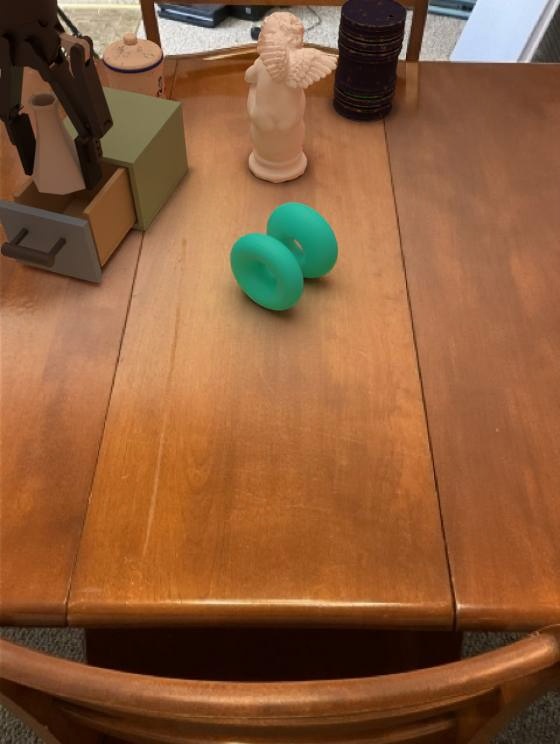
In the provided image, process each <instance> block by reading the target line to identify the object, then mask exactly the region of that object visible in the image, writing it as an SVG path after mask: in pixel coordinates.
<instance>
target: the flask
mask: <svg viewBox="0 0 560 744" xmlns="http://www.w3.org/2000/svg"><path fill="white" fill-rule="evenodd" d="M27 103H28V105H29V106H30V108H31V110H32V111H33V114H34V118H35V127H36V128H35V129H36V137H35V139H36V151H35V160H34V168H33V180H34V182H35V184H36V186H37V188H38V190H39V192H44V193H52V194H61V195H64V194H68V193H71V192H75V191H78V190H82V189H85V188H86V187H85V183H84V179H83V175H82V171H81V167H80V163H79V159H78V155H77V151H76V147H75V142H74V140H73V138H72V137H71V135H70V134H69V132H68V131H67V129H66V127H65V125H64V123H63V119H62V116H61V113H60V109H59V103H60V102H59V100H58V98H57V97H56V95H55V93H54V92H53V91H51V92H50V91H40V92H35V93H33V94H31V95H30V97H29V99H28V100H27Z"/></svg>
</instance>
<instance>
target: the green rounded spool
mask: <svg viewBox="0 0 560 744" xmlns="http://www.w3.org/2000/svg"><path fill="white" fill-rule="evenodd" d="M298 244H299V245H298ZM338 256H339V245H338V240H337V237H336V235H335V232H334V229H333V228H332V227H331V225H330V224H329V222H328V221H327V219H326V218H325V217H324V216H323V215H321V213H320V212H318V211H317V210H316V209H314V208H312V207H310V206H309V205H306V204H304V203H299V202H294V201H293V202H285V203H283V204H280V205H278V206H277V207H276V208H274V209H273V211H272V212H271V213H270V215H269V217H268V219H267V223H266V233H262V232H261V233H260V232H250V233H246V234H244V235H241V236H240V237H239V238H238V239H236V241H235V242H234V243H233V244H232V247H231V250H230V255H229V257H230V258H229V262H230V269H231V272H232V275H233V276H234V279H235V281H236V283H237V284H238V286H239V287H240V288H241V290H242V291H243V292H244V293H245V295H247V296H248V297H249V298H250V299H251V300H252V301H253V302H254V303H256V304H258V305H259V306H261V307H263V308H266V309H269V310H272V311H285V310H288V309H291V308H293V307H294V306H295V305H297V304H298V302H299V301H300V299H301V298H302V295H303V292H304V286H305V285H304V284H305V283H304V279H305V278H306V279H317V278H321V277H324V276H325V275H327V274H329V273H330V272H331V271H332V270H333V268H334V267H335V265H336V263H337V261H338Z"/></svg>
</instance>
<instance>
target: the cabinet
mask: <svg viewBox="0 0 560 744" xmlns="http://www.w3.org/2000/svg"><path fill="white" fill-rule="evenodd" d="M102 88H103V91H104V95H105V98H106V101H107V104H108V107H109V110H110V114H111V117H112V120H113V126H112V127H111V129H110V130H109V131H108V132H107V133H106V134H105V135H104V137H103V138H101V139H100V142H101V147H102V151H103V156H102V158H101V159H100V161H102V162H106V163H111V164H115V165H120V166H124V167H128V169H129V174H130V180H131V185H132V191H133V196H134V201H135V207H136V212H137V220H136V221H135V222H134V224H133V225H132V227H131V228H130V229H132V230H137V231H142V232H146V231H147V229H148V227H149V226H150V225H151V224H152V222H153V221H154V219H155V218H156V216H157V215H158V214H159V213H160V211H161V209H162V208H163V207H164V205H165V204H166V202H167V201H168V199H169V198H170V197H171V195H172V194H173V192H174V191H175V189H176V188H177V187H178V185H179V184H180V182H181V181H182V180H183V178H184V177H185V175H186V174H187V172H188V171H189V164H188V154H187V153H188V152H187V145H186V134H185V125H184V115H183V104H182V102H181V101H176V100H172V99H168V98H167V99H162V98H157V97H152V96H147V95H142V94H137V93H132V92H127V91H122V90H117V89H112V88H109V86H108V87H107V86H103V85H102ZM62 121H63V123H64V125H65V127H66V129H67V131H68V132H69V134H70V135H71V137H72V138H73V140H74V139H75V138H76V137H77V136H78V135H79V134H78V133H77V131H76V129H75V128H74V126H73V124H72V122H71V121H70V119H69V117H68V116H67V115H66V117H64V119H62Z"/></svg>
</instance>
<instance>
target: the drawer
mask: <svg viewBox="0 0 560 744" xmlns="http://www.w3.org/2000/svg"><path fill="white" fill-rule="evenodd" d="M99 162H100V167H101V171H102V176H103V178H102V179H101V180H100V181H99V183H98V184H97V185H96V186H95V187H94V189H93V190H92V191H91V190H87V189H86V188H85V189H82V190H78V191H75V192H71V193H68V194H64V195H61V194H52V193H44V192H39V190H38V188H37V186H36V184H35V182H34V180H33V174H32V175H31V176H28V178H27V179H26V181H24V183H23V184H22V185H21V186H20V187H18V189H17V190H16V191H15V192H14V193H13V194H12V197H13V200H14V201H13V202H12V201H9V200H5V199H0V222H1V225H2V228H3V230H4V233H5V235H6V238H7V241H8V242H7V241H5V242H3V243H2V244H1V246H0V253H1V255H2V256H3V257H7V258H11V259H14V260H15V261H16V263H19V264H23V265H26V266H29V267H34V268H38V269H42V270H45V271H50V272H53V273H57V274H60V275H64V276H68V277H72V278H75V279H80V280H84V281H88V282H91V283H94V284H99V283H100V281H101V280H102V279H103V274H102V269H101V268H103V267H104V265H106V262H107V261H108V260H109V258H110V257H111V255H112V254H113V253H114V252H115V250H116V249H117V247H118V246H119V244H121V242H122V241H123V239H124V237H125V236H126V235H127V233H128V232H129V231H130V230H131V229H132V228H131V227H132V225H133V224H134V222H135V221H136V220H137V212H136V207H135V201H134V196H133V191H132V185H131V180H130V174H129V169H128V167H124V166H120V165H115V164H111V163H106V162H102V161H99Z"/></svg>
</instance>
